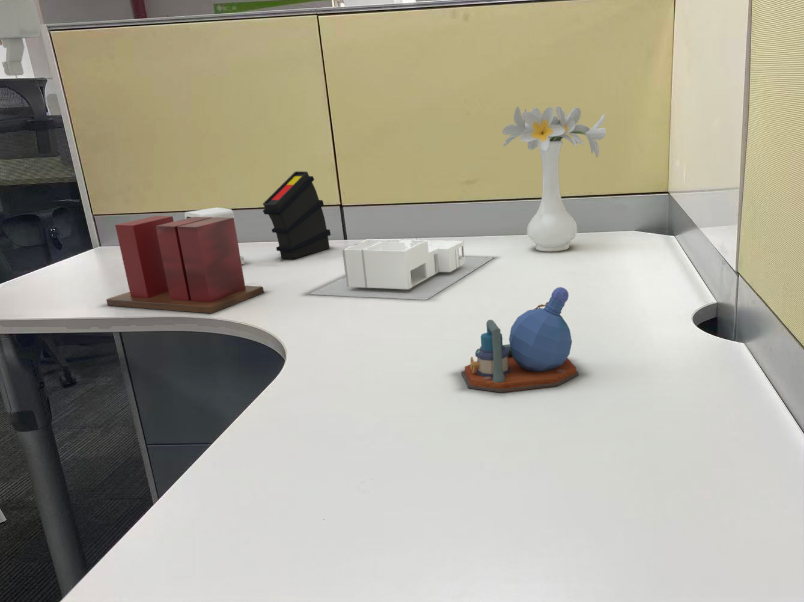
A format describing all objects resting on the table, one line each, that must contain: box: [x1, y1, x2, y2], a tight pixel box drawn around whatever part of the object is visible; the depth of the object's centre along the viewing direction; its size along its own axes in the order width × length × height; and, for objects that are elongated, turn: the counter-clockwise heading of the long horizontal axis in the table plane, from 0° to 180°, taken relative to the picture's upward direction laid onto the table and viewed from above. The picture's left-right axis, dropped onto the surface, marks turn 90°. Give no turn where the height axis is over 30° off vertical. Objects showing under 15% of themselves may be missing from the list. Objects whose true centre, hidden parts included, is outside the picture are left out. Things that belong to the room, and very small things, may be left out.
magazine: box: [262, 170, 332, 260], centre depth 151 cm, size 4×13×15 cm, turn 152°
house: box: [309, 238, 494, 301], centre depth 129 cm, size 22×18×6 cm
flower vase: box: [501, 105, 607, 253], centre depth 144 cm, size 13×18×25 cm
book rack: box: [106, 217, 265, 314], centre depth 122 cm, size 12×20×12 cm, turn 69°
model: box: [460, 286, 579, 393], centre depth 85 cm, size 12×9×9 cm
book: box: [114, 215, 175, 298], centre depth 124 cm, size 8×4×11 cm, turn 158°
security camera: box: [184, 207, 246, 265], centre depth 145 cm, size 6×7×10 cm
